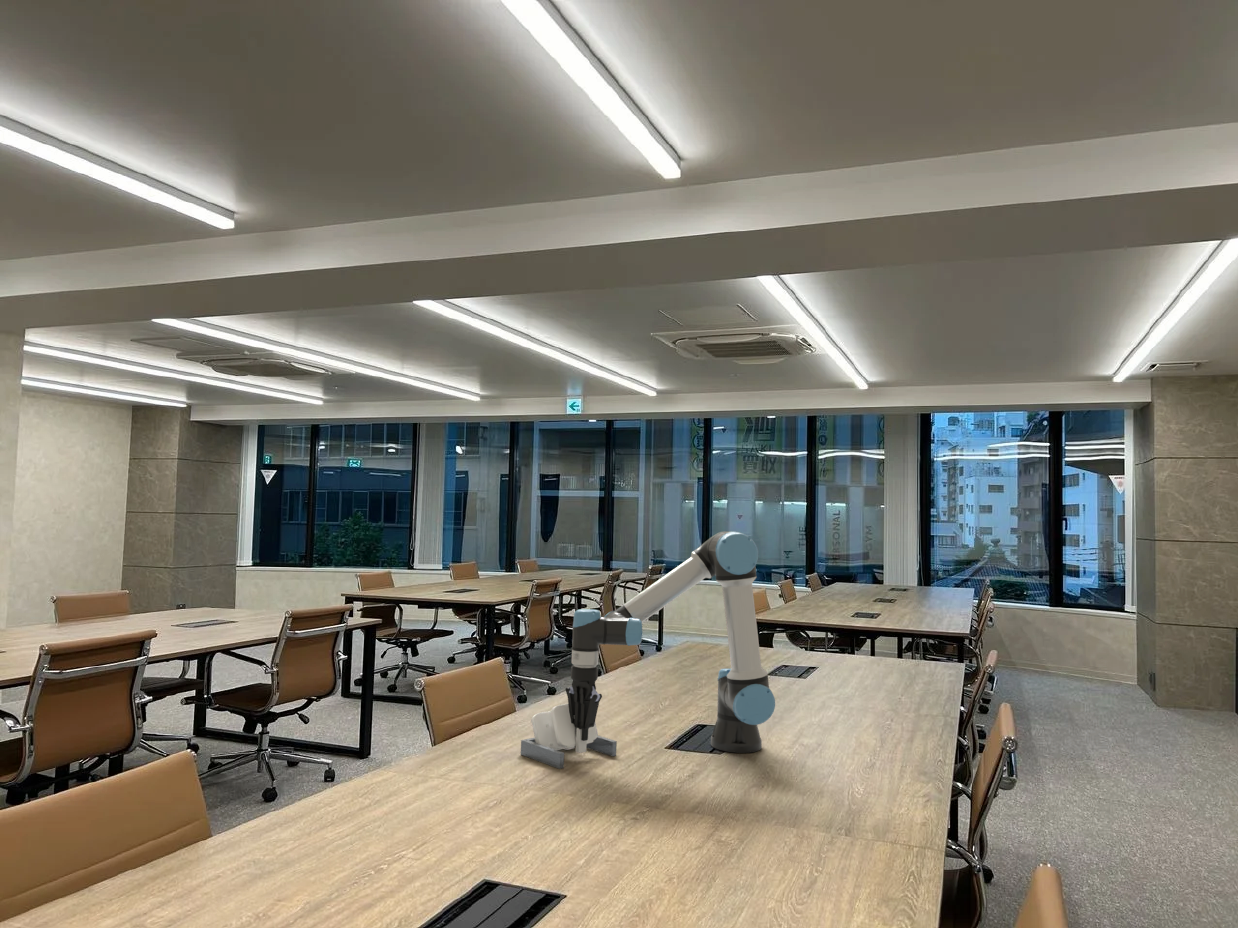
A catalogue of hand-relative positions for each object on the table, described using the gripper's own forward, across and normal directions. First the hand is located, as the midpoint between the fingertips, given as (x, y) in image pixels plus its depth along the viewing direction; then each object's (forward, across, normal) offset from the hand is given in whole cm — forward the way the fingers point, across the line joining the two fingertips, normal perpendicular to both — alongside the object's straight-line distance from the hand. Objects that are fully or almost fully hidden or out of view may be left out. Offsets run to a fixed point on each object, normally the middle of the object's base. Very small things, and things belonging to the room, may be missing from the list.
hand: (580, 751), depth 232 cm
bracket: (+2, -6, +1) cm, 6 cm away
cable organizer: (+1, -5, 0) cm, 5 cm away
